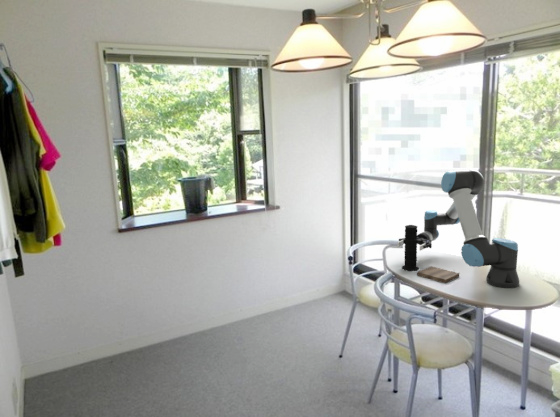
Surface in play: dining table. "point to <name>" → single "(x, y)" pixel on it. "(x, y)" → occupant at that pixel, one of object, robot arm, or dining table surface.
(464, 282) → the dining table surface
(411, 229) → the handle grip
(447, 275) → the walnut plate
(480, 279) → the dining table surface
